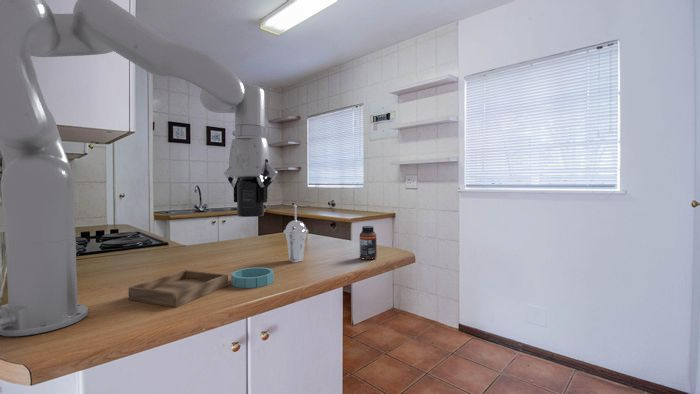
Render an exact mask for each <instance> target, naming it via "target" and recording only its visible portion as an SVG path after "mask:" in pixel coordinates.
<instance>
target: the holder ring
mask: <svg viewBox="0 0 700 394" xmlns="http://www.w3.org/2000/svg"><path fill="white" fill-rule="evenodd" d="M274 272H275V271H274V269H272V268H269V267H247V268H243V269H242V268H241V269H237V270H235V271H233V272H232V273H231V276H230V277H231V278H230V279H231V283H230V284H231V285H232V286H233V287H235V288H240V289H255V288H261V287H266V286H269V285H271V284H272V283H274V281H275V279H274V277H275V275H274V274H275V273H274Z"/></svg>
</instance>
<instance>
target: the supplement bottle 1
mask: <svg viewBox="0 0 700 394" xmlns="http://www.w3.org/2000/svg"><path fill="white" fill-rule="evenodd" d="M241 178H242V180H241V181H239V182H238V183H237V202H236V213H237V217H241V218H249V217H250V218H252V217H253V218H255V217H263V216H264V214H265V203H258V187H260V185H259V183H258V180H257V178H256V177H241Z"/></svg>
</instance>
